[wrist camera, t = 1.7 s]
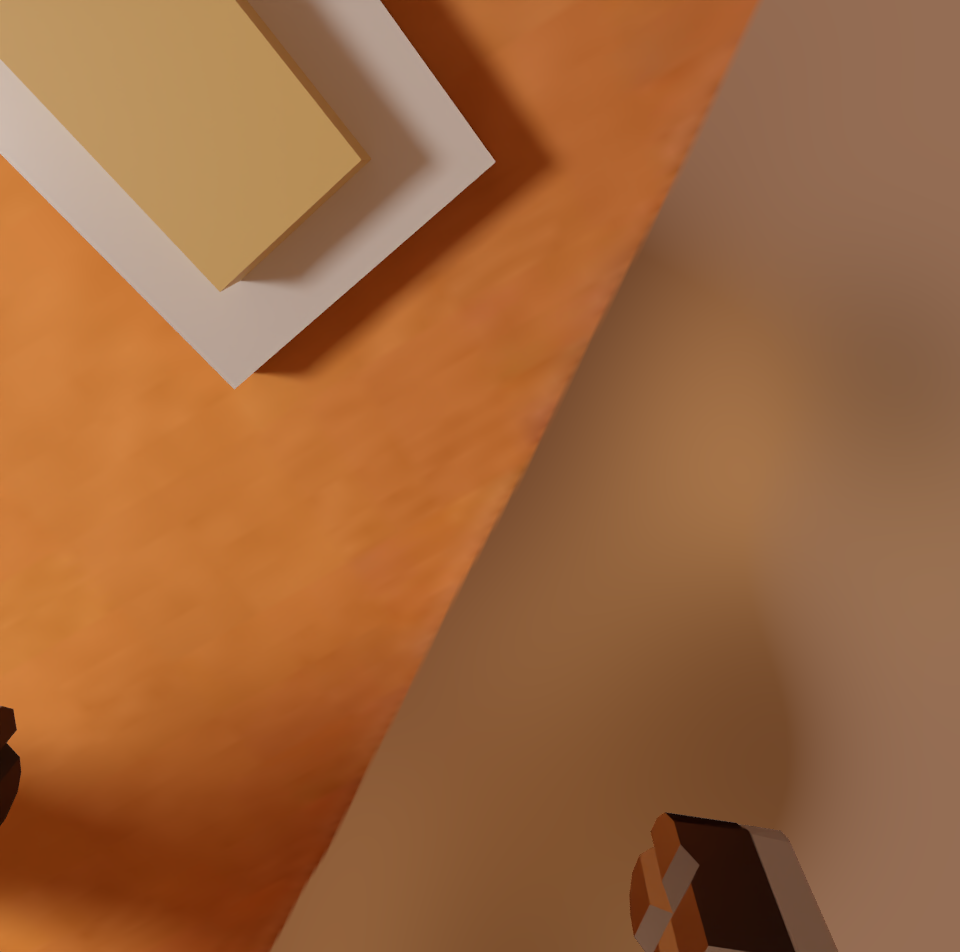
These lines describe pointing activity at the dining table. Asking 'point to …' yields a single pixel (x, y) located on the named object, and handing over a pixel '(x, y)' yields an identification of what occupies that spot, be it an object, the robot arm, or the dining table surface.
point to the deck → (319, 239)
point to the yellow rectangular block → (187, 117)
